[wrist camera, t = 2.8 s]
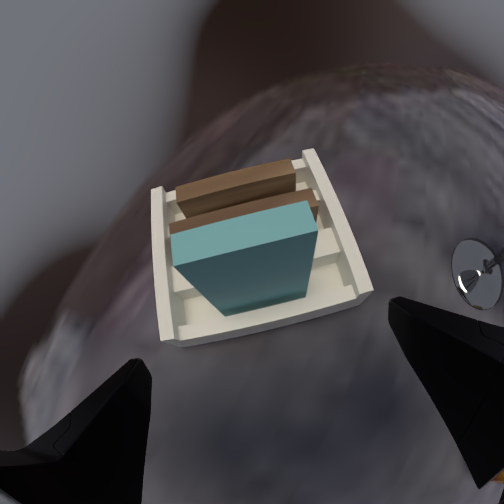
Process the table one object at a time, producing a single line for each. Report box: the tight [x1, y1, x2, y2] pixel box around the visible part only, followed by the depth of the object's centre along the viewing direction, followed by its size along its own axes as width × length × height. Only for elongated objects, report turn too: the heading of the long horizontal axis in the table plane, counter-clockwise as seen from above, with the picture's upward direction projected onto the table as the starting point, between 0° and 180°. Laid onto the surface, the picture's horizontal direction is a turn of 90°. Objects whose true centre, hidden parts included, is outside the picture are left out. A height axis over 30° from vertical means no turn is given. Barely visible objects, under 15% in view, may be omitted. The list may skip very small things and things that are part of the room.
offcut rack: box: [151, 148, 374, 347], centre depth 21 cm, size 12×14×4 cm
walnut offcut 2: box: [169, 188, 319, 243], centre depth 20 cm, size 2×10×4 cm, turn 102°
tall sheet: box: [170, 200, 318, 317], centre depth 16 cm, size 2×6×10 cm, turn 102°
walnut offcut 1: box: [175, 158, 296, 219], centre depth 22 cm, size 2×9×4 cm, turn 102°
